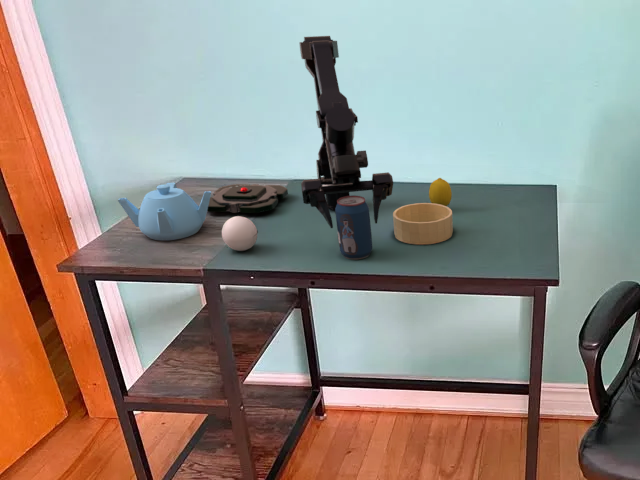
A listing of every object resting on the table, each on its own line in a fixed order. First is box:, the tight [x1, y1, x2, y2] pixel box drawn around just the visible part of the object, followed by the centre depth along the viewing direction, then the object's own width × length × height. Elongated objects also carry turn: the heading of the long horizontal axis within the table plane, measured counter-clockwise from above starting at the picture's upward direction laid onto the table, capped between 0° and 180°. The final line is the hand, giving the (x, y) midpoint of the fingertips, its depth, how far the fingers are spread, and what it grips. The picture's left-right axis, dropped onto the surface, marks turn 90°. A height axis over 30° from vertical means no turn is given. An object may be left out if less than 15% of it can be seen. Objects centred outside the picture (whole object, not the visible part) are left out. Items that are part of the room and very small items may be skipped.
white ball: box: [221, 215, 259, 252], centre depth 155 cm, size 10×7×7 cm
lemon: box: [428, 177, 453, 207], centre depth 175 cm, size 6×6×8 cm
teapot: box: [117, 182, 212, 241], centre depth 162 cm, size 15×15×11 cm
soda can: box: [334, 195, 373, 261], centre depth 150 cm, size 7×7×12 cm
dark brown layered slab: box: [207, 183, 289, 214], centre depth 180 cm, size 18×18×5 cm
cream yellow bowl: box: [392, 202, 454, 246], centre depth 162 cm, size 13×13×5 cm
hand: (354, 225), depth 148 cm, fingers open, 9 cm apart
